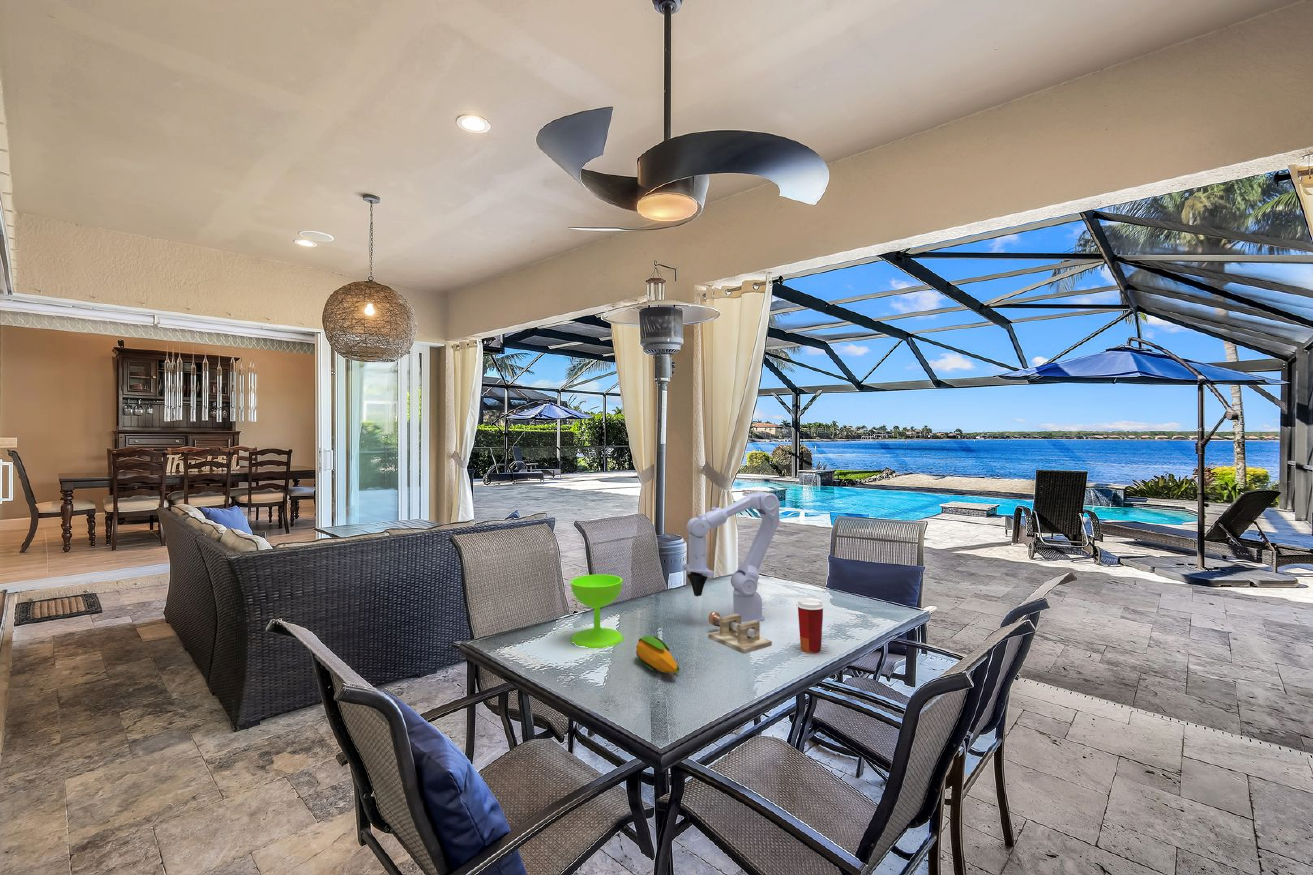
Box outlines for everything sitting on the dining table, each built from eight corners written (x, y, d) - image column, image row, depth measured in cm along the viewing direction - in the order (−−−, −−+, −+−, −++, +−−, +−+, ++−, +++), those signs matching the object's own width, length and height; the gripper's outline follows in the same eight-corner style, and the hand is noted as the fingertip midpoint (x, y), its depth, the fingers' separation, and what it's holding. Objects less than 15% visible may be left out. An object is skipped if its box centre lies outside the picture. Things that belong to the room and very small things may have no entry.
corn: (652, 627, 162) (688, 649, 144) (654, 653, 162) (690, 679, 144) (629, 633, 158) (663, 657, 140) (631, 660, 158) (665, 687, 141)
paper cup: (826, 647, 165) (825, 599, 166) (822, 656, 158) (821, 606, 159) (799, 643, 169) (798, 596, 169) (794, 652, 162) (793, 603, 162)
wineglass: (567, 633, 179) (566, 576, 179) (616, 628, 184) (615, 572, 184) (575, 651, 164) (575, 589, 164) (629, 644, 169) (628, 584, 169)
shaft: (708, 625, 180) (708, 612, 180) (718, 622, 182) (718, 610, 182) (748, 641, 165) (748, 628, 165) (758, 638, 167) (758, 625, 167)
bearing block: (708, 637, 174) (708, 616, 175) (735, 630, 181) (734, 610, 181) (744, 653, 161) (744, 630, 161) (771, 645, 167) (771, 623, 167)
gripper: (674, 552, 191) (675, 592, 191) (701, 559, 179) (702, 602, 179) (691, 550, 195) (691, 589, 195) (718, 556, 183) (719, 598, 183)
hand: (697, 595), depth 188 cm, fingers closed
